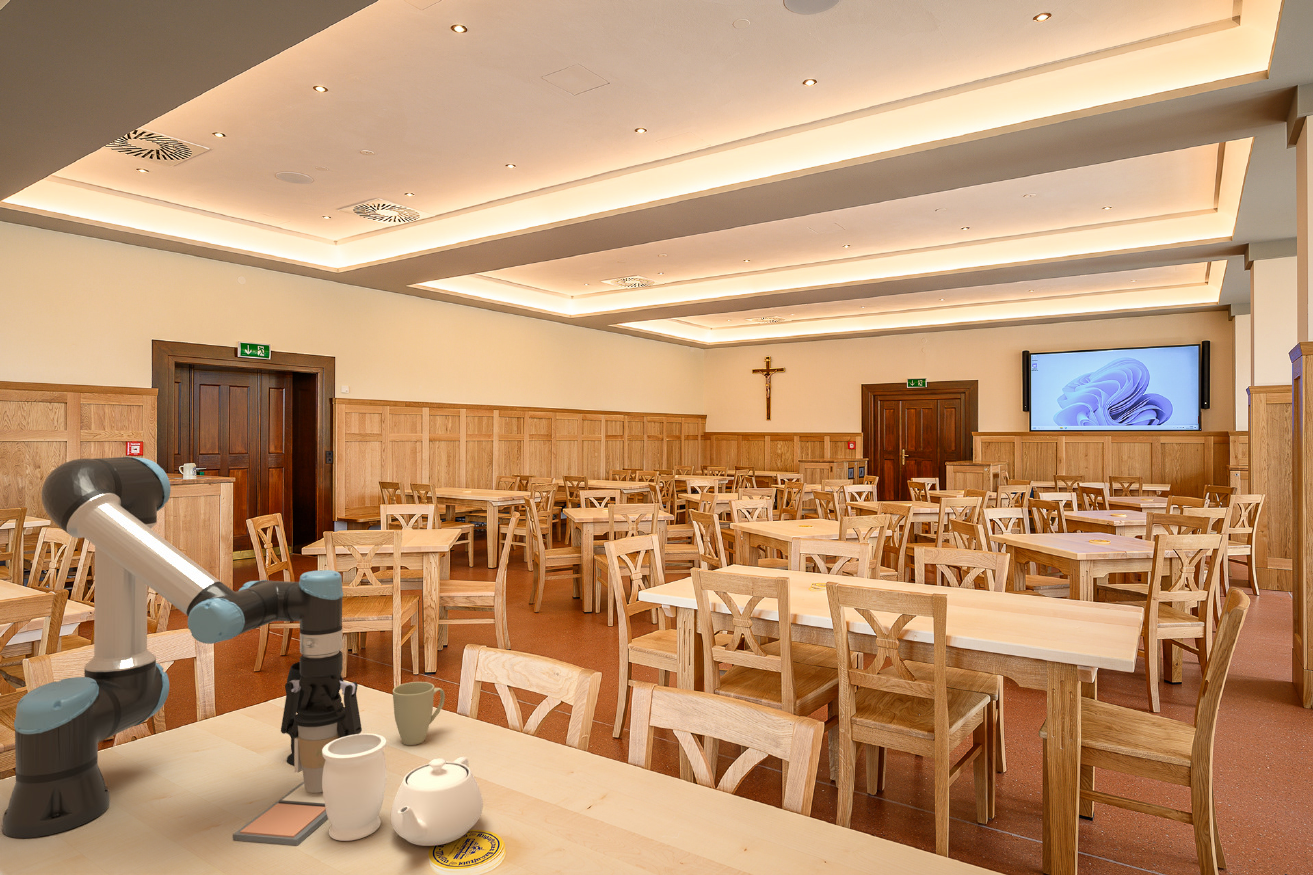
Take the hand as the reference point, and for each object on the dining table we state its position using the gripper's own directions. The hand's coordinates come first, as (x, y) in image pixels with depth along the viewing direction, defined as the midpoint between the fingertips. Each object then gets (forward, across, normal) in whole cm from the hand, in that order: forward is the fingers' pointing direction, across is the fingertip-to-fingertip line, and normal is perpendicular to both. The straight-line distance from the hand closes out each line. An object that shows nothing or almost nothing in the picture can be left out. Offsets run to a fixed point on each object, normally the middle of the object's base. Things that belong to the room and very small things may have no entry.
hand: (321, 770), depth 144 cm
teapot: (+5, +27, -9) cm, 29 cm away
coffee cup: (+3, 0, 0) cm, 3 cm away
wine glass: (+5, -12, +16) cm, 21 cm away
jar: (+5, +13, -10) cm, 17 cm away
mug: (+5, +6, +28) cm, 29 cm away
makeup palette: (+5, 0, -6) cm, 7 cm away
